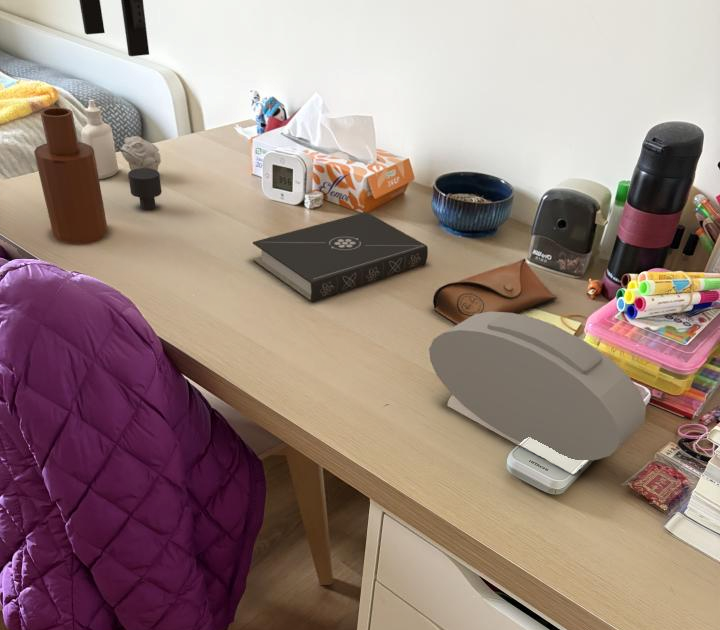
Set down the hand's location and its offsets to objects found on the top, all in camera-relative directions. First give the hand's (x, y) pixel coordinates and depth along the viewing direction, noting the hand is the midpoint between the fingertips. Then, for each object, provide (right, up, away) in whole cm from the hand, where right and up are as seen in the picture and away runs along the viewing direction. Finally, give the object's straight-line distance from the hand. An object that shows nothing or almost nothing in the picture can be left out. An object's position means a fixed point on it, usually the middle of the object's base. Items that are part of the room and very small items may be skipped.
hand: (116, 44), depth 101 cm
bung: (0, -17, +16) cm, 23 cm away
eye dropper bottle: (-11, -8, +25) cm, 28 cm away
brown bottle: (-8, -24, +8) cm, 26 cm away
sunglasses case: (+54, -37, 0) cm, 65 cm away
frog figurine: (-4, -8, +25) cm, 27 cm away
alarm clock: (+52, -56, -21) cm, 80 cm away
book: (+32, -29, +6) cm, 44 cm away
